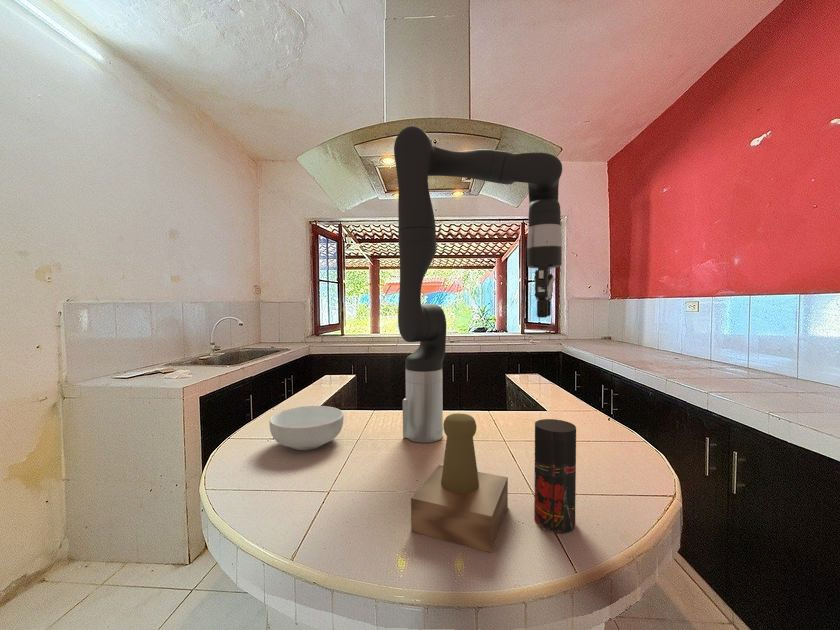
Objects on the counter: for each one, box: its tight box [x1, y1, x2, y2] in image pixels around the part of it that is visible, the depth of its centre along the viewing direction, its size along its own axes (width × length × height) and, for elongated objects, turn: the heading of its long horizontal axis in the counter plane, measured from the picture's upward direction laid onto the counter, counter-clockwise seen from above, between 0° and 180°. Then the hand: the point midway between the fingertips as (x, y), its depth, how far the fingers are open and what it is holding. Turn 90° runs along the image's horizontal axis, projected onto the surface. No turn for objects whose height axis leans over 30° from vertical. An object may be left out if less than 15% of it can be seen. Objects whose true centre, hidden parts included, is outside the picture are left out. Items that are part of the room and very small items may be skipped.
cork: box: [441, 413, 479, 494], centre depth 58 cm, size 6×6×11 cm
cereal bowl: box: [268, 405, 345, 451], centre depth 89 cm, size 17×17×7 cm
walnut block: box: [410, 464, 509, 553], centre depth 58 cm, size 12×12×5 cm
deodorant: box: [533, 418, 577, 534], centre depth 57 cm, size 6×6×15 cm
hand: (544, 316), depth 86 cm, fingers open, 8 cm apart
